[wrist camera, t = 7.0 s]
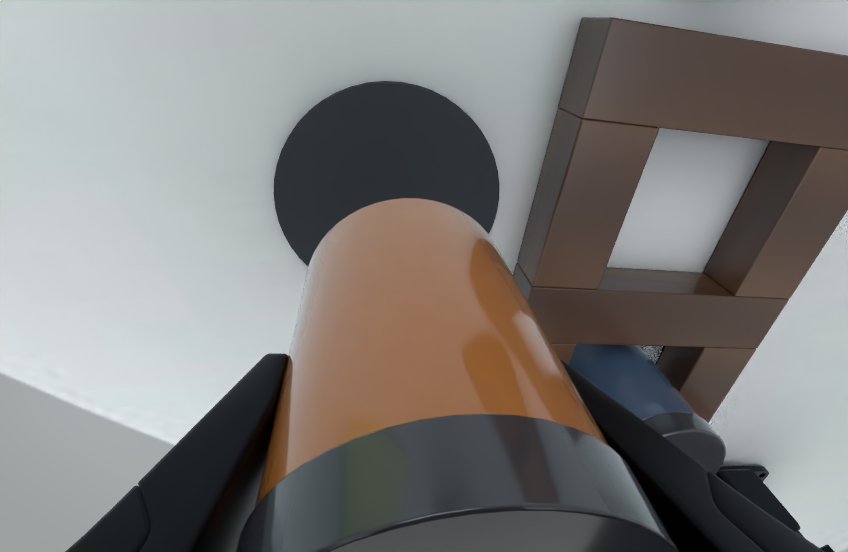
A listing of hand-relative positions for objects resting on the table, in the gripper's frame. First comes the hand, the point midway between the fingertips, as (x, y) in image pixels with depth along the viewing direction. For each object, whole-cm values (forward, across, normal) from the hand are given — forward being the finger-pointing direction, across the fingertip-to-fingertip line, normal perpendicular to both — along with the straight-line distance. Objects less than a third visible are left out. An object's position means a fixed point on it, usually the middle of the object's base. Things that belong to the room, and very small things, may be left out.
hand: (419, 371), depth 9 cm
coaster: (+10, 0, 0) cm, 10 cm away
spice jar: (+10, -12, +9) cm, 18 cm away
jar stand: (+10, -12, +4) cm, 16 cm away
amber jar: (+3, 0, 0) cm, 3 cm away
